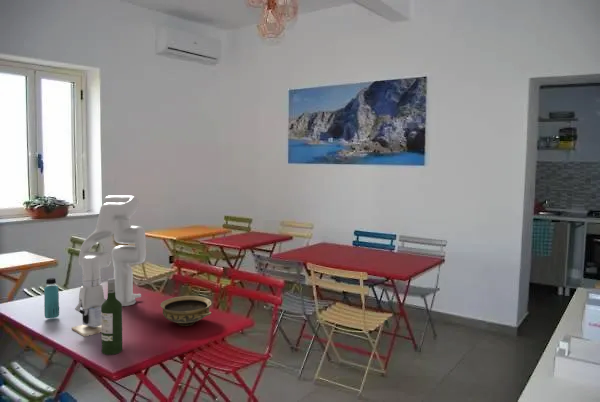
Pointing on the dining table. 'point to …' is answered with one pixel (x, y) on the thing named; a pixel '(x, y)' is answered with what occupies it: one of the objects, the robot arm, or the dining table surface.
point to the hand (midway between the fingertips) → (92, 321)
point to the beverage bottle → (51, 299)
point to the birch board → (87, 330)
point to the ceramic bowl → (186, 309)
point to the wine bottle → (111, 322)
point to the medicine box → (94, 316)
